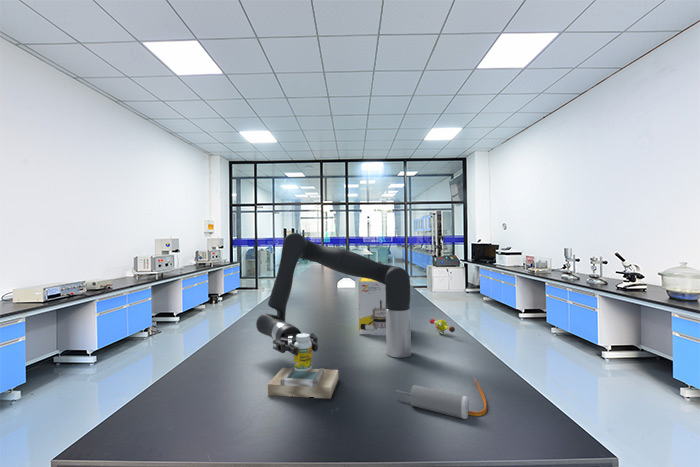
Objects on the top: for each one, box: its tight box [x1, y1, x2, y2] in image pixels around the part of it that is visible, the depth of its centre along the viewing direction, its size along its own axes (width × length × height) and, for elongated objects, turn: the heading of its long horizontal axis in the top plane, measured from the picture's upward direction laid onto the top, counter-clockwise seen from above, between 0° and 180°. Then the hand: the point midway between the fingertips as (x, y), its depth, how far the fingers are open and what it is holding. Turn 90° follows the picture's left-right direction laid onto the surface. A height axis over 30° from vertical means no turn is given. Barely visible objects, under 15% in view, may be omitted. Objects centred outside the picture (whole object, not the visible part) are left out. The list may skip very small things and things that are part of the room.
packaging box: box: [357, 277, 386, 336], centre depth 151 cm, size 16×16×25 cm
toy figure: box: [429, 318, 456, 336], centre depth 143 cm, size 18×6×7 cm, turn 17°
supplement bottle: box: [293, 332, 313, 371], centre depth 90 cm, size 5×5×10 cm
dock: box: [267, 366, 339, 400], centre depth 91 cm, size 18×12×4 cm
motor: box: [394, 378, 488, 420], centre depth 85 cm, size 23×22×5 cm
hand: (306, 349), depth 88 cm, fingers closed on supplement bottle, 5 cm apart
